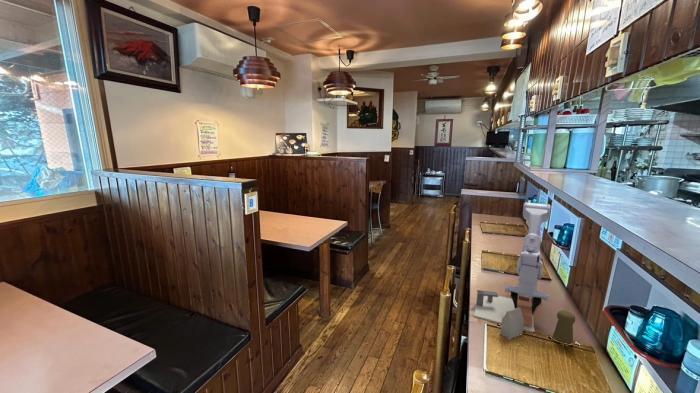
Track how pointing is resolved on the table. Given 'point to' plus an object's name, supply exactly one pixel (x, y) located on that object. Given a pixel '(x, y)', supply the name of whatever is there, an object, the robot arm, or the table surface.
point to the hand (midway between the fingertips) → (523, 311)
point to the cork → (564, 327)
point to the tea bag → (512, 323)
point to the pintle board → (495, 307)
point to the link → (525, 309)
